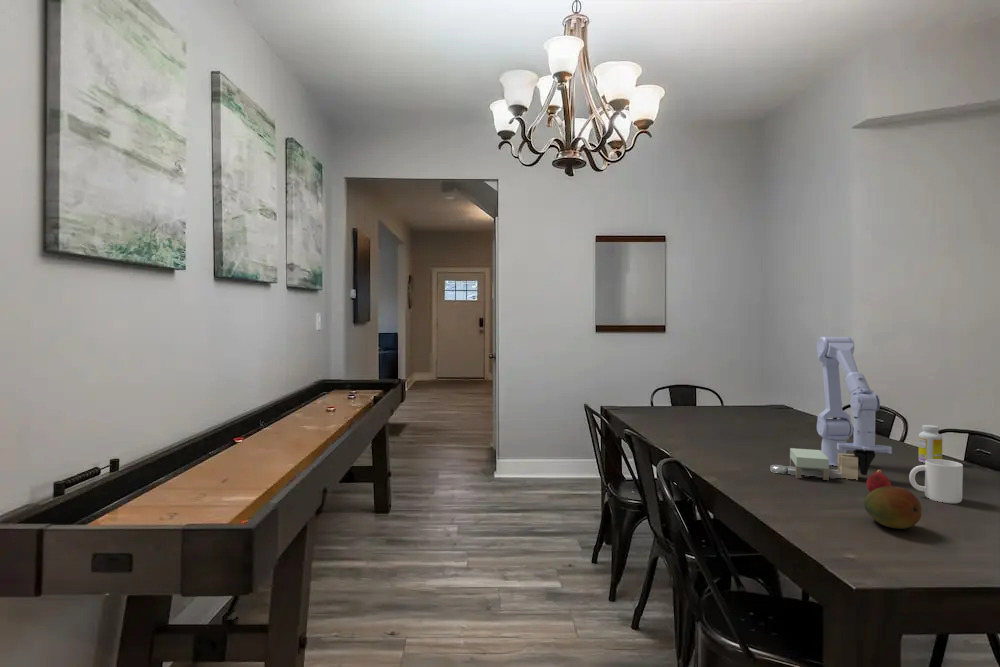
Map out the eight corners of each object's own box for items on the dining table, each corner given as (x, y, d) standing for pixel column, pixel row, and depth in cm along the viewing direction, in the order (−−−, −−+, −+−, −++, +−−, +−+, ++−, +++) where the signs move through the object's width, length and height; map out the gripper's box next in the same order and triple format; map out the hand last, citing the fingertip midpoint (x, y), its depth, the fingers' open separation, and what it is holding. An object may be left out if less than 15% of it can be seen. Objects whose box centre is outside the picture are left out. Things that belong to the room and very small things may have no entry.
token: (769, 470, 191) (769, 464, 191) (786, 471, 190) (786, 465, 190) (771, 474, 187) (771, 468, 187) (788, 475, 185) (788, 469, 185)
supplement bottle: (943, 462, 200) (943, 425, 200) (940, 466, 195) (941, 428, 195) (919, 459, 205) (920, 423, 204) (916, 462, 200) (917, 426, 200)
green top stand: (789, 468, 193) (790, 448, 193) (819, 470, 190) (820, 450, 190) (796, 478, 181) (796, 457, 180) (828, 481, 178) (829, 459, 178)
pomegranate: (883, 502, 157) (883, 473, 157) (861, 496, 162) (862, 468, 162) (895, 499, 160) (895, 471, 160) (873, 493, 165) (874, 466, 165)
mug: (911, 499, 160) (911, 462, 160) (906, 491, 167) (907, 456, 167) (965, 505, 154) (966, 467, 154) (958, 497, 162) (959, 461, 161)
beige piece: (786, 471, 190) (786, 449, 189) (853, 476, 183) (853, 454, 183) (788, 474, 185) (788, 453, 185) (857, 480, 179) (858, 457, 178)
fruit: (901, 539, 132) (901, 496, 131) (848, 521, 143) (849, 481, 143) (932, 531, 136) (933, 489, 136) (879, 514, 148) (879, 476, 147)
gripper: (841, 432, 179) (840, 475, 179) (895, 435, 174) (894, 479, 174) (835, 428, 185) (835, 469, 186) (887, 430, 181) (887, 473, 181)
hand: (863, 474), depth 180 cm, fingers closed
